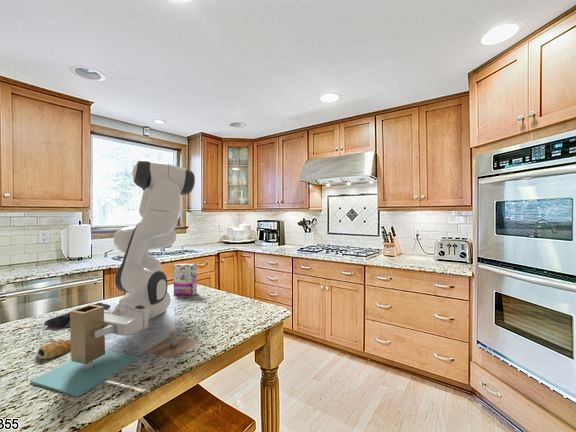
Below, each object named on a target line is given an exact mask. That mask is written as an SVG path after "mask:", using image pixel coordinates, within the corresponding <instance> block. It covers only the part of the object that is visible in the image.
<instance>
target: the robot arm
mask: <svg viewBox="0 0 576 432" xmlns="http://www.w3.org/2000/svg"><path fill="white" fill-rule="evenodd" d="M131 175H132V179H133V183H134V184H135V185H136V186H137V187H139V188H141V190H142V194H141V200H140V204H139V210H138V211H139V215H140V217H142V218H141V220H140V222H138V223H137V224H136V225H130V226H125V227H122V228H119V229H118V230H116V231H115V234H114V236H113V242H114V243H113V244H114V245H115V248H116V249H117V250H118V251H120V252H122V253H123V254H124V256H123V260H122V262H121V264H120V265H119V268H118V270H117V272H116V273H115V276H114V277H115V278H114V283H115V287H116V289H118V291H120V292H124V293H126V294H125V295H123V296H122V297H121V298H119V300H118V304H117V305H116V306H115V308H114V310H110V309H107V310H104V328H102V329H96V330H94V331H93V332H92V334H93V335H92V337H96V338H98V337H100V336H103V335H105V336H107V335H111V334H113V335H119V336H131V335H134V334H136V333H138V332H140V331H141V330H146V329H148V328H149V320H152V319H153V318H156V317H157V316H160V315H161V314H163V313H165V312H166V310H167V309H168V308H169V306H170V304H171V295H170V293H169V292H168V277H167V275H166V273H165V272H164V271H162V262H160V260H159V259H157V258H155V257H152V256H151V255H150V253H149V251H151V250H158V249H165V248H168V247H170V246H171V247H172V246H173V245H174V243H175V242H176V239H177V232H176V230H175V229H176V226H177V224H178V220H179V216H180V208H181V201H182V200H181V199H182V198H181V197H182V195H183V196H185V195H189V194H190V193H192V191H193V189H194V188H195V185H196V179H195V177H196V176H195V174H194V172H193V171H192V170H190V169H188V168H183V167H180V166H177V165H174V164H170V163H165V162H158V161H152V160H149V159H139V160H138V161H137V162H136V164H135V165H134V167H133V168H132V174H131Z"/></svg>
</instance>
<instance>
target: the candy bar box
mask: <svg viewBox="0 0 576 432" xmlns="http://www.w3.org/2000/svg"><path fill="white" fill-rule="evenodd" d="M172 268H173V295H174V296H187V297H188V296H189V297H193V296H195V295H197V293H198V289H197V287H198V286H197V285H198V284H197V263H175V264H173V266H172Z"/></svg>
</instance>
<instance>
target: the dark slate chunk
mask: <svg viewBox="0 0 576 432" xmlns="http://www.w3.org/2000/svg"><path fill="white" fill-rule="evenodd" d="M92 305H96V306H104V310H110V308H111V305H110V304H107V303H103V302H97V303H94V304H92ZM44 326H45V327H46V326H47V327H50V328H57V329H63V328H65V329H67V328H68V329H69V328H70V311H69V312H67V313H63V314H61V315H58V316H55V317H52V318H49V319H46V321H45V322H44V324H43V327H44Z"/></svg>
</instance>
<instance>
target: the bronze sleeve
mask: <svg viewBox="0 0 576 432" xmlns="http://www.w3.org/2000/svg"><path fill="white" fill-rule="evenodd" d="M69 312H70V329H69V330H70V331H69V332H70V335H69V336H70V340H71V350H70V358H71V359H70V361H73V362H77V363H82V364H87V363H89V362H91V361H93V360H95V359H97V358H99V357H101V356H102V355H104V354H105V350H106V342H105V341H106V340H105V339H106V337H105V336H106V335H103V336H100V337H98V338H96V337H92V335H93V334H92V332H93V331H94V330H96V329H102V328H104V306H96V305H93V304H88V305H84V306H82V307H78V308H77V309H76V308H75V309H72V310H70V311H69Z"/></svg>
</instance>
